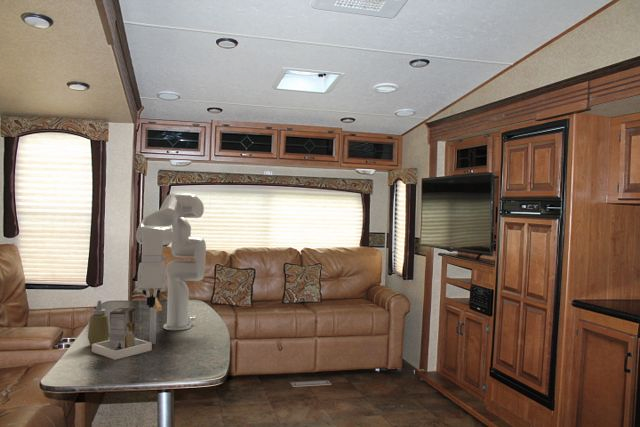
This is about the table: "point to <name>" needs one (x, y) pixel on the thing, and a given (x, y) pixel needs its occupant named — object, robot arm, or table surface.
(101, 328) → the squeeze bottle
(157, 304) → the bar
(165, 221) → the robot arm
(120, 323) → the coffee box
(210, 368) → the table surface
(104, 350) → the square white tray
